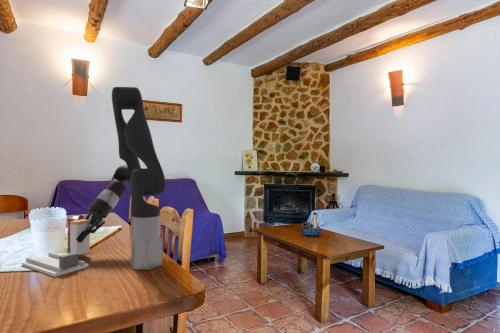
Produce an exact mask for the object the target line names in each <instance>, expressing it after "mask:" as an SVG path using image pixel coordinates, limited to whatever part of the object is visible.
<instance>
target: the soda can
mask: <svg viewBox="0 0 500 333" xmlns="http://www.w3.org/2000/svg"><path fill="white" fill-rule="evenodd" d="M79 216H80V215H77V216H76V215H75V216H70V217H68V219H67V248H69V249H70V239H69V237H70V221H74V220H77V219H78V217H79Z"/></svg>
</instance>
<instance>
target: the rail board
mask: <svg viewBox="0 0 500 333" xmlns="http://www.w3.org/2000/svg"><path fill="white" fill-rule="evenodd" d="M21 264H22V265H24V266H23V267H25V266H27V267H29V269H30V268H32V269H31V270H33V269H34V270H33V271H37V272H38V273H42V274H45V275H49V276H51V277H53V278H56V277H59V276H63V275H66V274H69V273H73V272H76V271H79V270H82V269H85V268H89V263H86V262H85V261H83V260H80V259H79V255H78V253H75V252H74V253H70V252H69V253H65V254H59V253H56V252H48V256H41V257H37V258H32V257H29V256H28V257H26V258H25V261H22V262H21ZM21 264H20V265H21ZM22 265H21V266H22ZM27 267H26V268H27Z"/></svg>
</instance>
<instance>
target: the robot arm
mask: <svg viewBox="0 0 500 333" xmlns="http://www.w3.org/2000/svg"><path fill="white" fill-rule="evenodd" d="M111 102H112V109H113V110H112V111H113V115H114V123H115V128H116V133H117V140H118V141H117V142H118V156H119V158H120V160H122V161H123V162H124V163H125V164H121V165H119V166H118V167H117V168H116V169H115V171H114V173H113V176H112V177H111V180H110V182H109V183H108V185H106V187H105V188H104V189H103V190H102V191H101V192H100V193H99V194H98V196H96V198H95V199H94V200H93V201H92V203H91V204H90V205H89V206H88V212H87V213H85V214H84V215H83V214H80V215H78V216H79V217H78V219H77V220H80V219H86V220H89V222H88V223H87V224H86V227H85V229H84V231H82V232H81V234H80V235H79V236H78V237H77V239H76V240H77V241H78V242H80V243H81V242H82V241H83V240H84V239H85V238H86V236H87V235H89V234H92V235H93V234H95V233H96V232H97V231H99V229H100V228H101V227H102V226H103V225H104V224H106V221H105V220H104V219H106V218H107V217H108V216H109V215H110V213H111V212H112V210H114V208H115V206H117V204H118V202H119V201H120V199H121V198H122V196H124V194H125V193H126V191H127V186H126V185H125V182H128V183H130V202H131V203H130V207H131V210H130V211H131V224H130V225H131V230H130V231H131V232H130V233H131V234H130V235H131V238H130V241H131V242H130V243H131V244H130V246H131V248H130V259H131V260H130V261H131V263H130V266H131V268H132V269H133V270H138V271H139V270H140V271H142V270H143V271H144V270H145V271H150V270H152V269H155V268H158V267H160V266H162V265H163V264H162V263H163V262H162V260H163V258H162V256H163V255H162V254H163V253H162V252H163V250H162V249H163V246H162V245H163V240H162V239H163V238H162V237H160V235H161V234H160V230H161V228H160V227H161V223H160V222H161V208H160V207H159V206H158V205H156V204H155V205H154V204H152V203H149V202H147V201H145V199H144V196H157V195H162V194H163V193H164V192H165V190H166V178H165V173H164V171H163V168H162V165H161V163H160V160H159V158H158V156H157V153H156V150H155V149H156V148H155V145H154V142H153V137H152V134H151V130H150V127H149V124H148V121H147V117H146V112H145V108H144V103H143V98H142V93H141V91H140V89H139V88H138V87H137V86H124V85H122V86H120V85H115V86H113V88H112V89H111ZM123 110H129V111H130V110H131V111H133V113H132V116H130V118H129V119H128V121H127V122H126V120H125V119H124V118H125V117H124V116H123ZM140 161H141V162H142V163H143V164H144V165H145V167H146V168H145V167H144V168H141V167H142V166H141V163H140ZM69 239H70V237H69Z"/></svg>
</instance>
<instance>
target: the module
mask: <svg viewBox="0 0 500 333" xmlns="http://www.w3.org/2000/svg"><path fill="white" fill-rule="evenodd" d="M88 222H89V220H86V219H80V220H74V221H70V248H69V253H74V252H75V253H78V256H81V255H84V254H89V253H90V248H91V247H90V245H91V244H90V243H91V241H90V234H91V233H90V234H89V235H87V236H86V238H85V239H84V240H83V241H82V242H81V243H80V242H78V241H77V240H76V239H77V237H78V236H79V235H80V234H81V232H82V231H84V229H85V227H86V224H87V223H88Z"/></svg>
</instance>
